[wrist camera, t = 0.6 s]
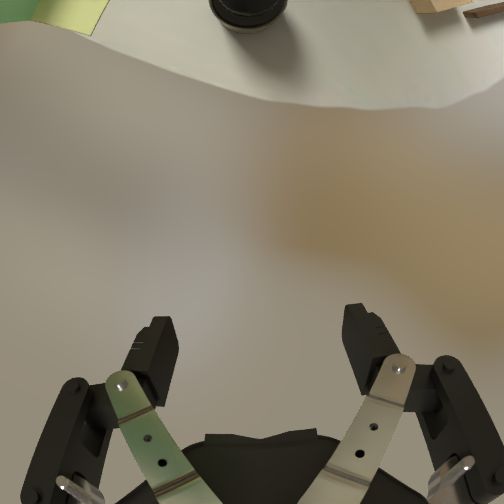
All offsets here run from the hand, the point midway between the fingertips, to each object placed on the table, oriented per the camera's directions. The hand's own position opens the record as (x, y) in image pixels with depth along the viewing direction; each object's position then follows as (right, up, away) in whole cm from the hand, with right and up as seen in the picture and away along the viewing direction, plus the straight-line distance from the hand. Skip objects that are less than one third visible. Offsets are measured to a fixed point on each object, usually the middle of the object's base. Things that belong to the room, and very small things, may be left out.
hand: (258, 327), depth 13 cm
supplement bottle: (-1, +30, +11) cm, 32 cm away
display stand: (-17, +43, 0) cm, 46 cm away
